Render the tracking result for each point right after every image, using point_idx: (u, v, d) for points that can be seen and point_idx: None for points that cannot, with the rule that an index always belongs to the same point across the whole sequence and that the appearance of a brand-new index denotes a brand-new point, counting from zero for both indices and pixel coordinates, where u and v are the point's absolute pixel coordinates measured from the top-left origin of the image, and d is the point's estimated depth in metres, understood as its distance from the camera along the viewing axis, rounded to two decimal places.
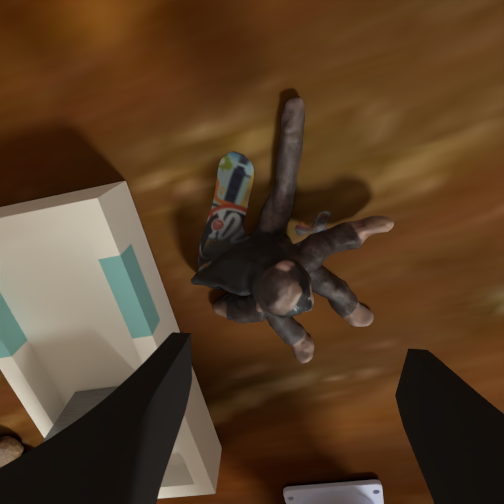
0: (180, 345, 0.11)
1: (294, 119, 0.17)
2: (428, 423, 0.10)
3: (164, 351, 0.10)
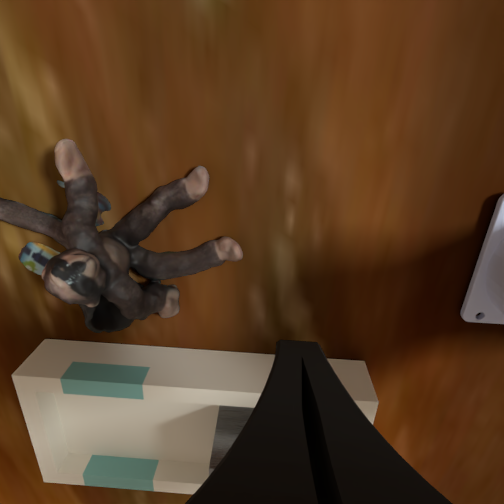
0: (298, 353, 0.10)
1: None
2: (302, 413, 0.10)
3: (286, 360, 0.10)
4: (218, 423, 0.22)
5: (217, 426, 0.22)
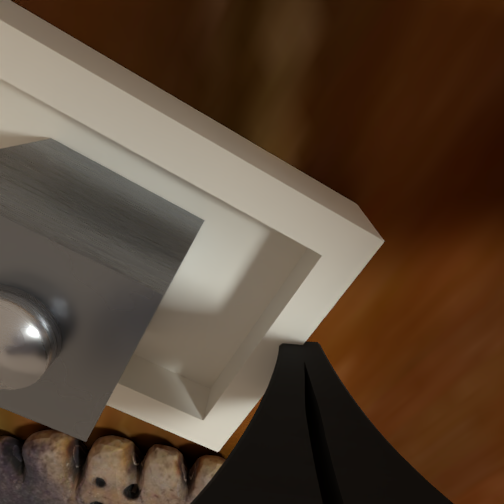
0: (300, 354, 0.10)
1: None
2: None
3: (289, 360, 0.10)
4: (19, 148, 0.09)
5: (12, 148, 0.09)
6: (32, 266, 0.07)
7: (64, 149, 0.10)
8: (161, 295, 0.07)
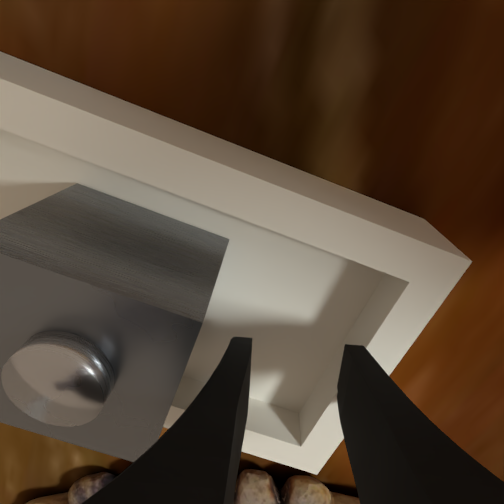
0: (247, 350, 0.10)
1: None
2: (355, 418, 0.10)
3: (234, 356, 0.10)
4: (50, 199, 0.10)
5: (44, 201, 0.09)
6: (79, 311, 0.07)
7: (90, 192, 0.11)
8: (201, 323, 0.07)
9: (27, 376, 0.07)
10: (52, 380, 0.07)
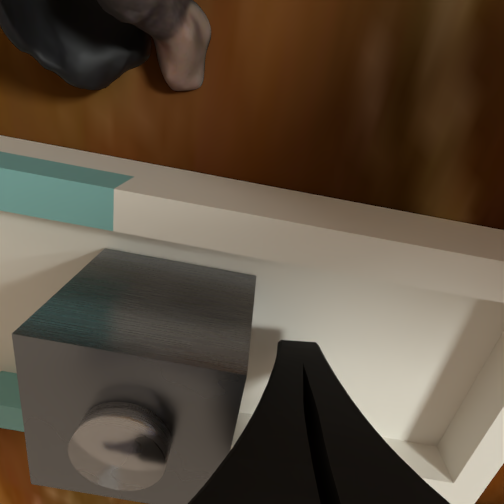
0: (299, 353, 0.10)
1: None
2: None
3: (288, 360, 0.10)
4: (84, 271, 0.10)
5: (79, 274, 0.10)
6: (129, 381, 0.08)
7: (118, 254, 0.11)
8: (245, 375, 0.08)
9: (91, 448, 0.08)
10: (115, 450, 0.08)
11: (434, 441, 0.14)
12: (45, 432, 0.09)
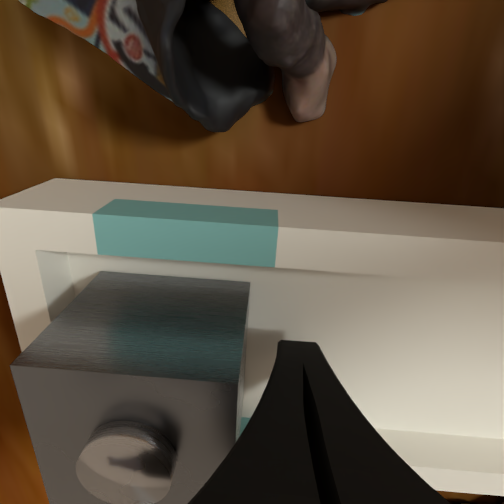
0: (299, 353, 0.10)
1: None
2: None
3: (288, 360, 0.10)
4: (80, 296, 0.10)
5: (75, 300, 0.10)
6: (126, 400, 0.08)
7: (114, 276, 0.12)
8: (236, 384, 0.08)
9: (98, 469, 0.08)
10: (120, 468, 0.08)
11: None
12: (55, 455, 0.09)
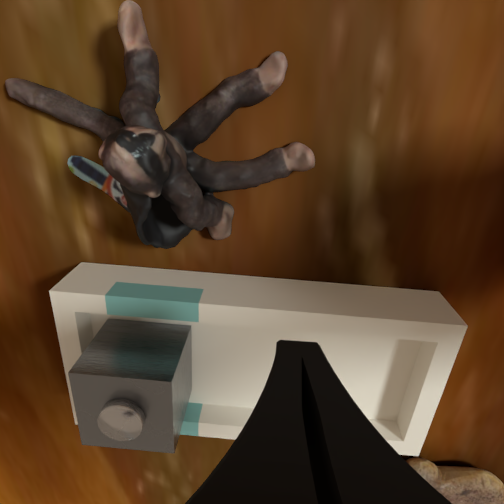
0: (298, 353, 0.10)
1: (20, 92, 0.18)
2: (303, 413, 0.10)
3: (286, 360, 0.10)
4: (97, 335, 0.20)
5: (95, 337, 0.19)
6: (121, 389, 0.17)
7: (115, 322, 0.21)
8: (171, 382, 0.17)
9: (107, 421, 0.17)
10: (118, 421, 0.17)
11: (394, 418, 0.23)
12: (86, 416, 0.18)
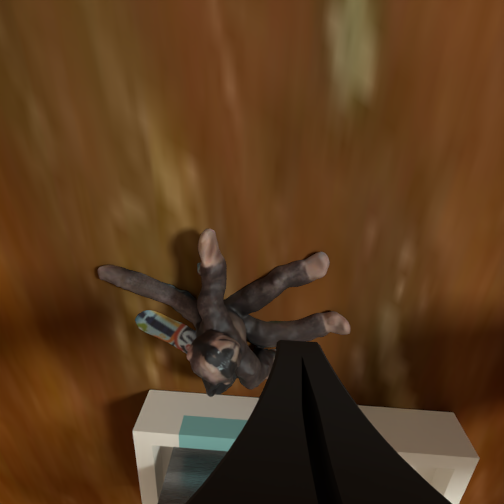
0: (298, 353, 0.10)
1: (110, 278, 0.22)
2: (303, 413, 0.10)
3: (286, 360, 0.10)
4: (170, 463, 0.24)
5: (169, 466, 0.23)
6: None
7: None
8: None
9: None
10: None
11: None
12: None
